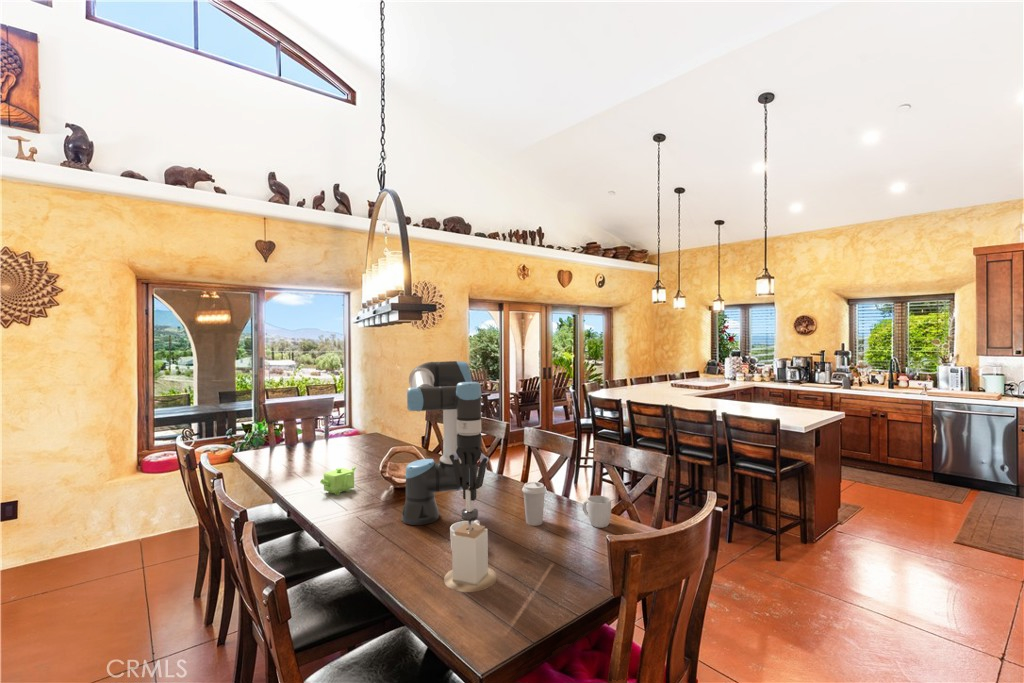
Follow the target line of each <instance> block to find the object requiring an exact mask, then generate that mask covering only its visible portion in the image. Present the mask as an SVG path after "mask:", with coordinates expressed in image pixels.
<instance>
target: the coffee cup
mask: <svg viewBox="0 0 1024 683" xmlns="http://www.w3.org/2000/svg"><path fill="white" fill-rule="evenodd" d="M521 491H522V492H523V494H522V495H523V502H524V512H525V513H524V514H525V522H526V524H527V525H529V526H533V527H534V526H540V525H542V524H543V522H544V521H543V519H544V509H545V508H544V507H545V506H544V504H545V495H546V492H547V488H546V486H545V484H544V483H542V482H539V481H528V482H525V483H524V484H523V486H522V489H521Z"/></svg>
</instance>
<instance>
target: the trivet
mask: <svg viewBox="0 0 1024 683" xmlns="http://www.w3.org/2000/svg"><path fill="white" fill-rule="evenodd" d="M443 578H444V579H443V582H444V584H445V586H446V587H447V588H449V589H451V590H453V591H457V592H460V593H472V592H473V593H474V592H480V591H483V590H485V589H488V588H490V587H491V586H493V585H494V584H495V583H496V580H497V578H498V577H497V573H496V571H494V570H493V569H492V568H491V567H488V574H487V576H486V577H485V578H484V579H483V580H482V581H481V582H480V583H479V584H478V585H477V586H476V587H475V586H471V585H466V584H462V583H457V582H453V581H452V569H451V570H449V571H447V573H446V574H445V575H444V577H443Z"/></svg>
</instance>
